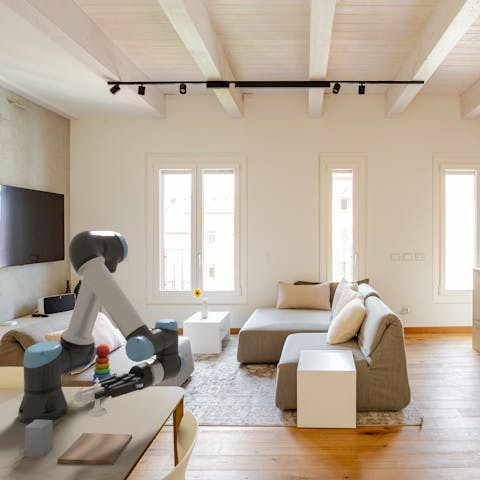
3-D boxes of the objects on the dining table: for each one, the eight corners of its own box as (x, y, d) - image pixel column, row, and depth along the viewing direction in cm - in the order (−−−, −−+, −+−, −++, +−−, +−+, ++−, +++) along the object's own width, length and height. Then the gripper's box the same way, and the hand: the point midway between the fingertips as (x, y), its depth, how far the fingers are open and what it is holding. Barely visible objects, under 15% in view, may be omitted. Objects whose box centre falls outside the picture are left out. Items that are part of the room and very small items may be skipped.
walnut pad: (57, 462, 111) (57, 459, 111) (83, 436, 126) (83, 433, 126) (112, 464, 110) (112, 460, 110) (132, 437, 125) (132, 434, 125)
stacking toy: (106, 397, 157) (105, 347, 157) (86, 396, 159) (86, 346, 159) (116, 390, 165) (116, 342, 165) (97, 389, 166) (97, 341, 166)
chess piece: (100, 408, 121) (100, 374, 121) (110, 413, 118) (109, 377, 118) (84, 414, 118) (84, 378, 118) (94, 418, 114) (94, 382, 114)
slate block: (25, 456, 114) (25, 427, 114) (35, 447, 119) (35, 419, 119) (42, 457, 114) (42, 427, 114) (52, 448, 119) (52, 420, 119)
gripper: (163, 391, 128) (97, 418, 109) (129, 382, 137) (63, 406, 118) (162, 366, 128) (97, 389, 109) (129, 359, 137) (63, 379, 118)
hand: (79, 398), depth 113 cm, fingers closed on chess piece, 2 cm apart
